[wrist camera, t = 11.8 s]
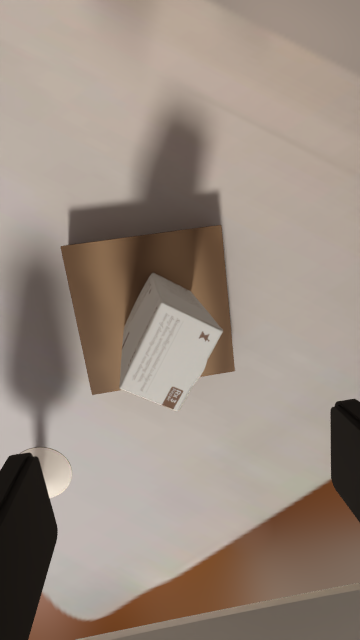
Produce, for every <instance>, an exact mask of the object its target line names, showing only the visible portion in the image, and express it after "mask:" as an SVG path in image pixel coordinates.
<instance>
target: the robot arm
mask: <svg viewBox="0 0 360 640" xmlns="http://www.w3.org/2000/svg"><path fill="white" fill-rule="evenodd" d="M331 479H332V482H333V485H334V487H335V489H336V491H337V492H338V493H339V495H340V496H341V497H342V499H343V500H344V501H345V503H346V504H347V506H348V507H349V508H350V510H351V511H352V512H353V514H354V515H355V516H356V518H357V519H358V521H359V522H360V402H359V401H358V400H356V399H350V400H344V401H338V402H336V404H335V407H332V408H331ZM56 540H57V524H56V520H55V517H54V513H53V509H52V506H51V502H50V498H49V494H48V491H47V487H46V483H45V480H44V476H43V472H42V468H41V465H40V461H39V458H38V457H37V456H34V457H33V455H32V454H31V453H23V454H16V455H11V456H9V457H8V459H7V460H6V462H5V464H4V465H3V467H2V469H1V470H0V640H28V638H29V634H30V631H31V627H32V624H33V621H34V617H35V614H36V610H37V607H38V603H39V600H40V596H41V593H42V589H43V586H44V582H45V579H46V575H47V572H48V568H49V565H50V561H51V558H52V554H53V551H54V547H55V544H56ZM77 640H360V583H356V584H351V585H345V586H340V587H335V588H330V589H325V590H320V591H314V592H309V593H304V594H299V595H294V596H289V597H284V598H279V599H274V600H268V601H264V602H259V603H254V604H249V605H244V606H238V607H233V608H228V609H223V610H218V611H214V612H208V613H203V614H199V615H194V616H188V617H183V618H179V619H173V620H169V621H164V622H159V623H154V624H149V625H144V626H140V627H135V628H130V629H125V630H120V631H115V632H110V633H106V634H101V635H96V636H91V637H86V638H81V639H77Z"/></svg>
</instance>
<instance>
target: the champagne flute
mask: <svg viewBox="0 0 360 640" xmlns="http://www.w3.org/2000/svg"><path fill="white" fill-rule="evenodd" d="M23 453H31V454H32V455H33V457H34V456H37V457H38V458H39V461H40V465H41V468H42V472H43V476H44V480H45V483H46V487H47V491H48V494H49V498H52V497H55V496H57V495H59V494H60V493H62V492H63V491H64V490H65V489H66V488H67V487H68V485H69V483H70V481H71V478H72V470H71V466H70V464H69V462H68V460H67V459H66V458H65V457H64V456H63V455H62V454H60V453H59V452H57V451H55V450H52V449H49V448H39V447H38V448H32V449H28V450H26V451H24V452H22V453H20V454H23Z"/></svg>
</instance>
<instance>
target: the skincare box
mask: <svg viewBox="0 0 360 640" xmlns="http://www.w3.org/2000/svg"><path fill="white" fill-rule="evenodd" d="M222 333H223V329H222V328H221V327H220V326H219V325H218V324H217V322H216V321H215V320H214V319H213V317H212V316H211V315H210V314H209V312H208V311H207V310H206V309H205V308H204V306H203V305H202V304H201V303H200V302H199V301H198V299H197V298H196V297H195V296H194V295H193V293H192V292H191V291H189V290H187V289H185V288H183V287H181V286H179V285H177V284H175V283H173V282H171V281H169V280H167V279H165V278H163V277H161V276H159V275H157V274H155V273H152V274H151V275H150V276H149V278H148V280H147V282H146V283H145V285H144V287H143V289H142V291H141V292H140V294H139V296H138V298H137V300H136V302H135V304H134V306H133V308H132V311H131V313H130V315H129V317H128V319H127V322H126V324H125V326H124V332H123V343H122V356H121V372H120V385H119V388H120V389H121V390H123V391H126V392H129V393H131V394H134V395H136V396H139V397H141V398H144V399H147V400H149V401H152V402H154V403H156V404H159V405H162V406H164V407H166V408H169V409H171V410H174V411H176V412H178V411H179V410H180V409H181V407H182V405H183V403H184V401H185V400H186V398H187V396H188V394H189V392H190V391H191V389H192V387H193V385H194V384H195V383H196V382H197V380H198V379H199V378H200V376H201V374H202V373H203V371H204V369H205V366H206V363H207V360H208V358H209V357H210V355H211V353H212V351H213V349H214V347H215V346H216V344H217V342H218V340H219V338H220V336H221V334H222Z"/></svg>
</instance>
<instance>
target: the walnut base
mask: <svg viewBox="0 0 360 640" xmlns="http://www.w3.org/2000/svg"><path fill="white" fill-rule="evenodd" d="M61 251H62V256H63V260H64V265H65V270H66V274H67V279H68V284H69V289H70V293H71V298H72V303H73V307H74V312H75V317H76V321H77V326H78V331H79V335H80V340H81V345H82V349H83V354H84V359H85V364H86V368H87V373H88V378H89V382H90V387H91V392H92V395H94V394H100V393H106V392H112V391H118V390H121V389H120V388H119V385H120V372H121V356H122V343H123V332H124V326H125V324H126V322H127V319H128V317H129V315H130V313H131V311H132V308H133V306H134V304H135V302H136V300H137V298H138V296H139V294H140V292H141V291H142V289H143V287H144V285H145V283H146V282H147V280H148V278H149V276H150V275H151V274H152V273H155V274H157V275H159V276H161V277H163V278H165V279H167V280H169V281H171V282H173V283H175V284H177V285H179V286H181V287H183V288H185V289H187V290H189V291H191V292H192V293H193V295H194V296H195V297H196V298H197V299H198V301H199V302H200V303H201V304H202V305H203V306H204V308H205V309H206V310H207V311H208V312H209V314H210V315H211V316H212V317H213V319H214V320H215V321H216V322H217V324H218V325H219V326H220V327H221V328H222V329H223V333H222V334H221V336H220V338H219V340H218V342H217V344H216V346H215V347H214V349H213V351H212V353H211V355H210V357H209V358H208V360H207V363H206V366H205V369H204V371H203V373H202V374H201V376H200V377H202V376H208V375H214V374H220V373H226V372H232V371H235V368H234V357H233V346H232V336H231V325H230V314H229V303H228V292H227V282H226V271H225V260H224V249H223V238H222V228H221V225H217V226H208V227H201V228H193V229H186V230H178V231H171V232H163V233H155V234H148V235H140V236H133V237H125V238H118V239H110V240H103V241H95V242H87V243H80V244H72V245H66V246H61Z"/></svg>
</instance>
